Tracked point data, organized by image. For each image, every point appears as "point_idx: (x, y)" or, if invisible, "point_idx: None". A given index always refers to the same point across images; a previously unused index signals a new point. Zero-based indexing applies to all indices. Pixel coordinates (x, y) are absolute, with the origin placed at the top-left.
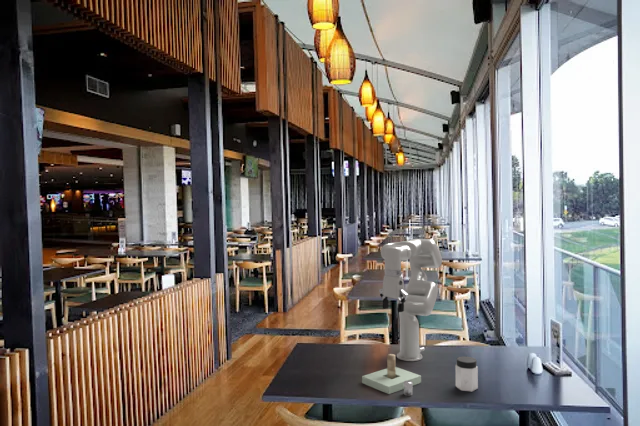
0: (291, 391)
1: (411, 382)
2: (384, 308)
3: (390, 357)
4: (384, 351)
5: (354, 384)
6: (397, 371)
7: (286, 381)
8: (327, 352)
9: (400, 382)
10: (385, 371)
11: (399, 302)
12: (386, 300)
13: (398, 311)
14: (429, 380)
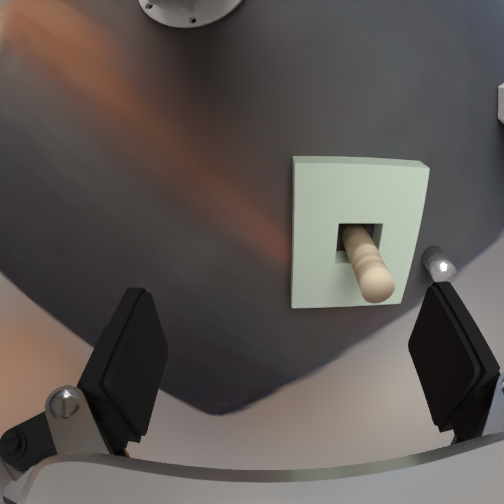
0: (227, 399)
1: (453, 271)
2: (166, 345)
3: (383, 298)
4: (74, 26)
5: (283, 312)
6: (346, 197)
7: (172, 384)
8: (12, 210)
9: (409, 261)
10: (314, 229)
11: (460, 436)
12: (125, 407)
13: (414, 349)
14: (427, 124)
